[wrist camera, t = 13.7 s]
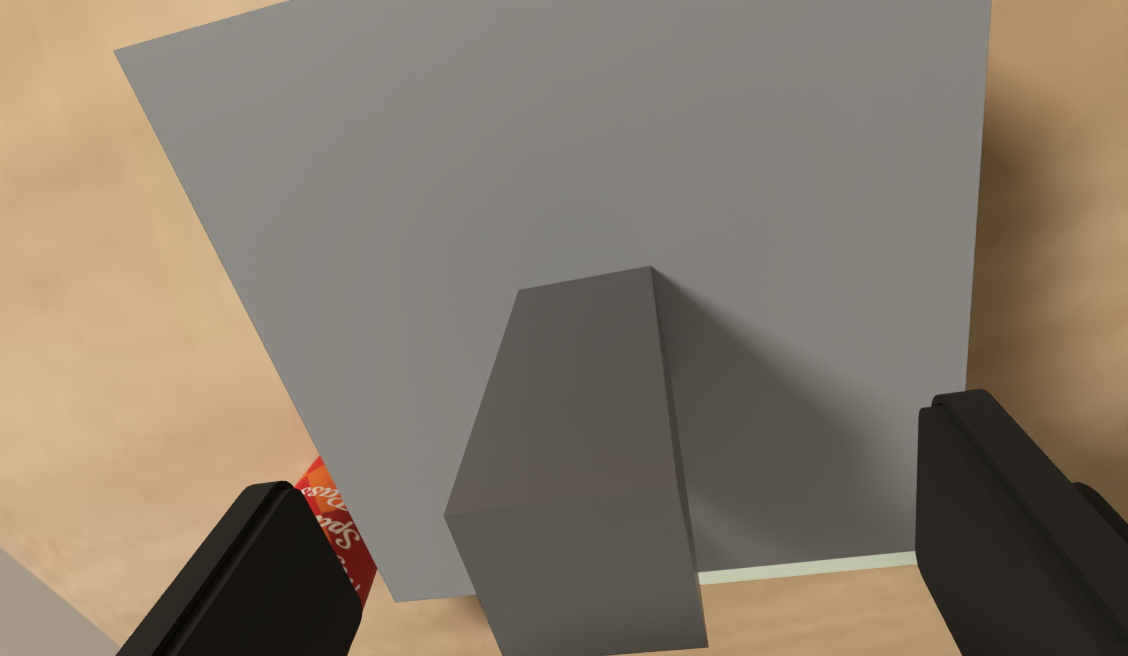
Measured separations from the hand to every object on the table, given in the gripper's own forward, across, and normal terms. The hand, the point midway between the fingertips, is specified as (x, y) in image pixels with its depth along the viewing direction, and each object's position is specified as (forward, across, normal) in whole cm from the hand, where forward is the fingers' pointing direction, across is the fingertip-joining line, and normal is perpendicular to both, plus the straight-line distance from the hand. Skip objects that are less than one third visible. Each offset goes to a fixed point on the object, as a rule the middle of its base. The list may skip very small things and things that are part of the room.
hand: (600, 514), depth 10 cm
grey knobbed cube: (+24, 0, 0) cm, 24 cm away
